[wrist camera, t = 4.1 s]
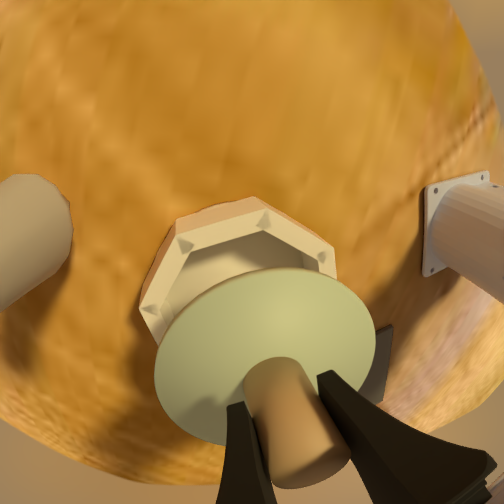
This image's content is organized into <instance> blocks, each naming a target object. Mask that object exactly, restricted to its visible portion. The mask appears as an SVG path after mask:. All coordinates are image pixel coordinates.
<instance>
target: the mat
mask: <svg viewBox="0 0 504 504" xmlns="http://www.w3.org/2000/svg"><path fill="white" fill-rule="evenodd" d="M392 336H393V326H392V325H389V326H387V327H385V328H383V329H381V330H379V331H376V332H375V340H376V344H375V353H374V357H373V361H372V365H371V367H370V370H369V372H368V375H367V377H366V379H365V380H364V382H363V384H362V386H361V387H360V389H359V390H358V393H360V394H361V395H362V396H363V397H365V398H366V399H367V400H369V401H370V402H372V403H373V404H374V405H376V404H377V403H379V402H381V401H383V396H384V391H385V385H386V379H387V373H388V367H389V360H390V353H391V345H392Z"/></svg>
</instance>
